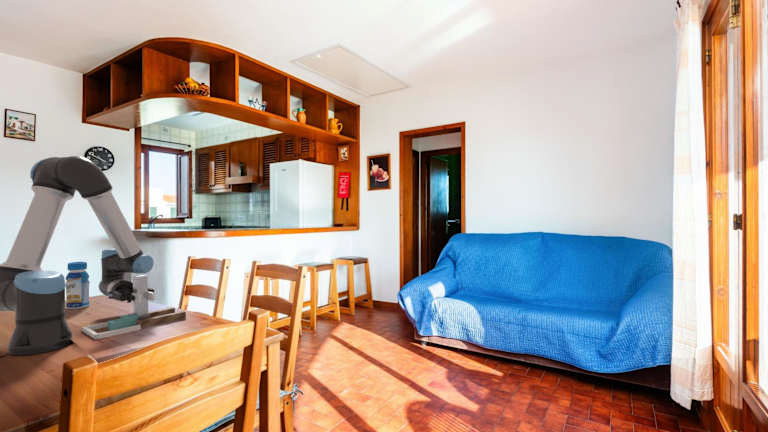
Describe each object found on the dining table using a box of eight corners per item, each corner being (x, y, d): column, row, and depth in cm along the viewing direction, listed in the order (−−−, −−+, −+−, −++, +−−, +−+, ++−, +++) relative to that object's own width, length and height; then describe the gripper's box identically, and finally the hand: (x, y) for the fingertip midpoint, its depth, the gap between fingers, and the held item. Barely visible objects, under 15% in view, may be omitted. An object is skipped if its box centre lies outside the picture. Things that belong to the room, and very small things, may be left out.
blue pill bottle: (93, 306, 170) (92, 262, 170) (70, 310, 163) (69, 264, 163) (85, 304, 174) (84, 260, 174) (62, 308, 167) (61, 262, 167)
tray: (95, 344, 121) (95, 334, 121) (81, 335, 130) (81, 327, 129) (140, 333, 131) (140, 325, 131) (125, 326, 140) (125, 318, 140)
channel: (139, 332, 132) (138, 321, 132) (127, 327, 139) (126, 316, 139) (185, 322, 145) (185, 311, 145) (172, 317, 152) (172, 307, 152)
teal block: (125, 329, 132) (125, 317, 132) (121, 327, 134) (120, 315, 134) (138, 326, 135) (138, 315, 135) (133, 324, 138) (133, 313, 137)
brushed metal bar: (139, 325, 135) (137, 277, 134) (132, 322, 138) (131, 275, 138) (149, 322, 137) (148, 276, 137) (143, 319, 141) (142, 274, 141)
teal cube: (111, 334, 129) (111, 323, 129) (107, 332, 131) (107, 321, 131) (125, 331, 132) (125, 320, 132) (121, 329, 134) (120, 318, 134)
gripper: (145, 295, 155) (171, 303, 141) (96, 303, 142) (119, 313, 128) (145, 277, 155) (171, 283, 141) (96, 283, 142) (119, 291, 128)
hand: (146, 298), depth 134 cm, fingers closed on brushed metal bar, 3 cm apart
